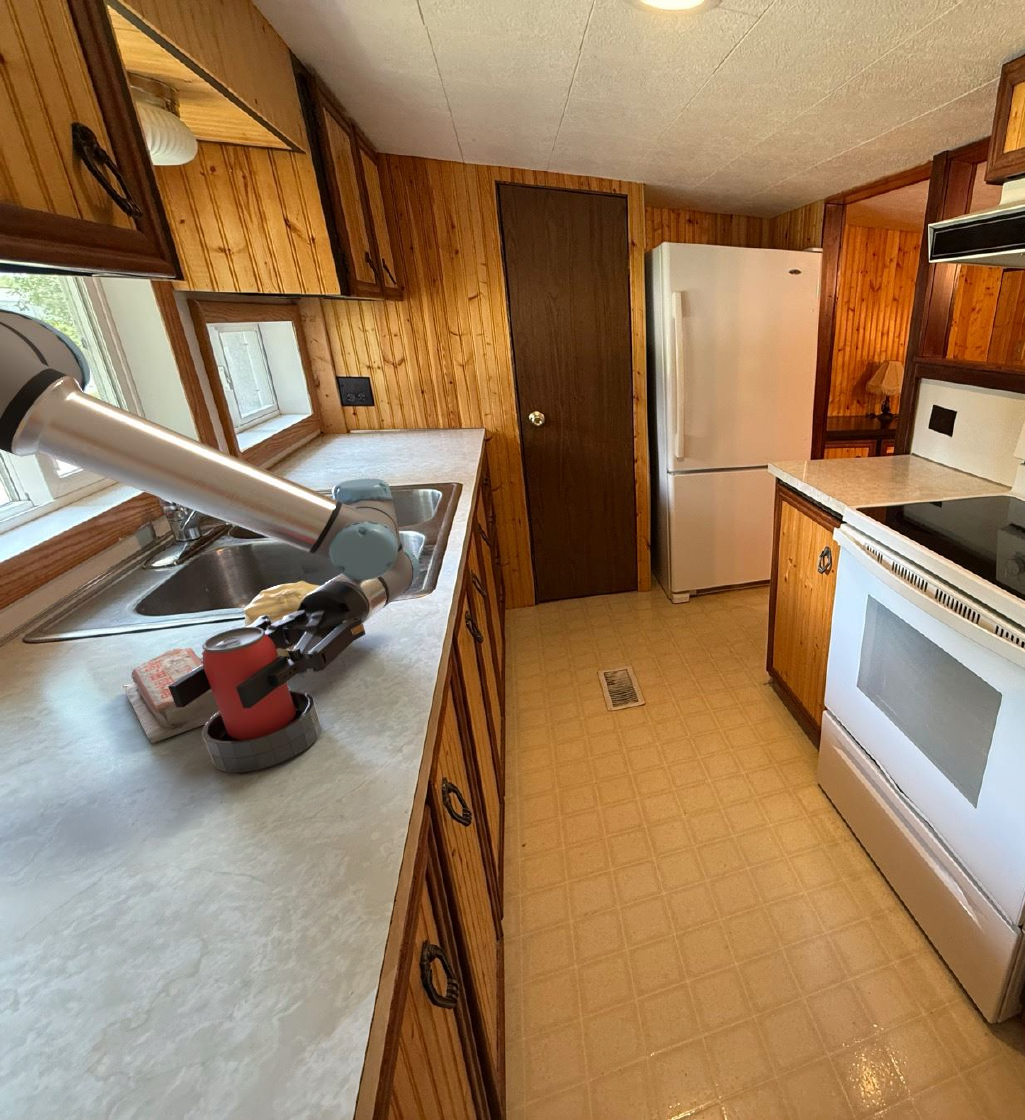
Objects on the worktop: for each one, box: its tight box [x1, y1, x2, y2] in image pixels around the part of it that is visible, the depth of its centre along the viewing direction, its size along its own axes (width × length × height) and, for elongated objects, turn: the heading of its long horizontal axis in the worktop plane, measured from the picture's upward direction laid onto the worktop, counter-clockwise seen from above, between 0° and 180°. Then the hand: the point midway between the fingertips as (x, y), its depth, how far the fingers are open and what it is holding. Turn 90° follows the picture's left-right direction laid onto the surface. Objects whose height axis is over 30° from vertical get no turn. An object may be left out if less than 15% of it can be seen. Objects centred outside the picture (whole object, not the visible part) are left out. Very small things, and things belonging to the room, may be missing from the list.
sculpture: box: [243, 580, 322, 658], centre depth 94 cm, size 11×12×11 cm
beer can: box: [201, 626, 296, 740], centre depth 70 cm, size 7×7×12 cm
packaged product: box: [122, 647, 220, 744], centre depth 81 cm, size 18×5×10 cm
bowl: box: [201, 689, 322, 773], centre depth 73 cm, size 11×11×4 cm
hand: (209, 697), depth 65 cm, fingers closed on beer can, 7 cm apart
